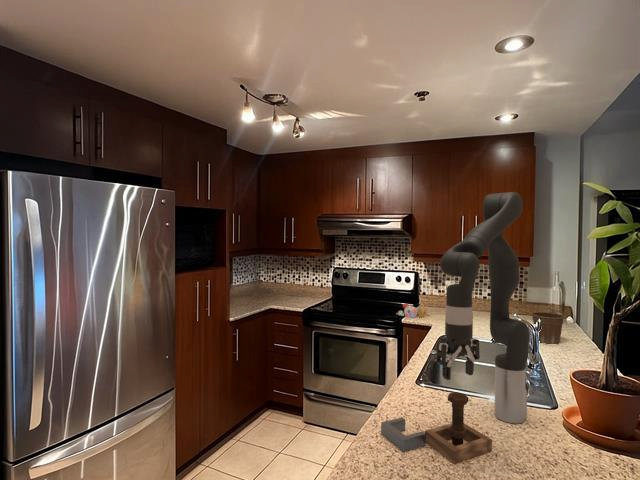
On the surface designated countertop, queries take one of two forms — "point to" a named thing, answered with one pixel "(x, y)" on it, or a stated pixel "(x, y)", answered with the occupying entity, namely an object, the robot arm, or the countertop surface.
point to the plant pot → (549, 327)
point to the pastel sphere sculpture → (412, 311)
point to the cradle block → (402, 435)
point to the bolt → (457, 417)
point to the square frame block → (456, 454)
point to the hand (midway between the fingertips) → (458, 376)
